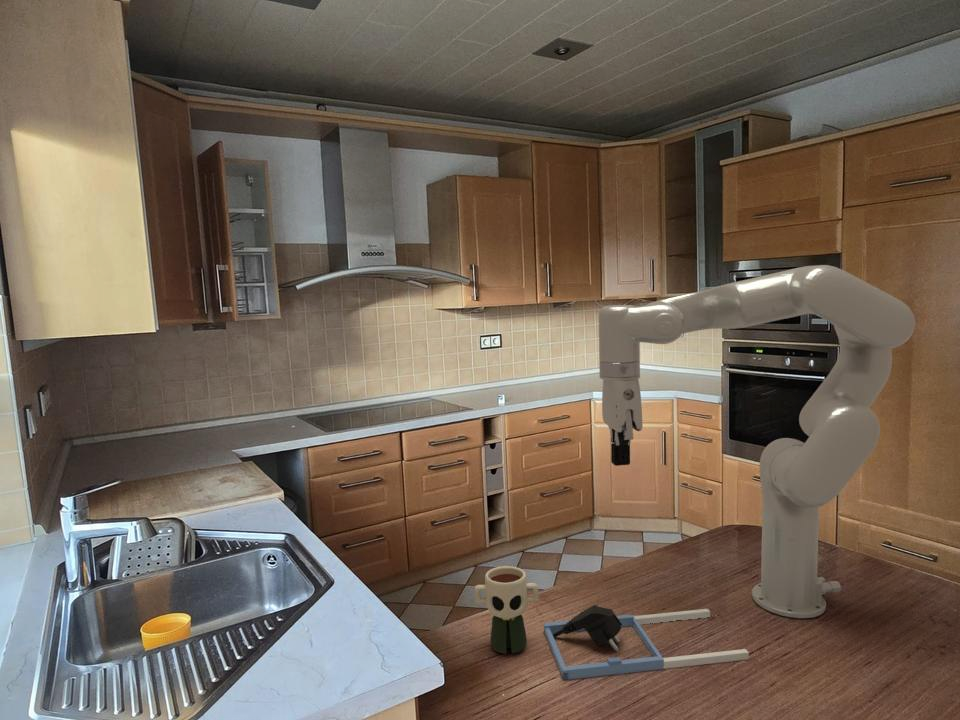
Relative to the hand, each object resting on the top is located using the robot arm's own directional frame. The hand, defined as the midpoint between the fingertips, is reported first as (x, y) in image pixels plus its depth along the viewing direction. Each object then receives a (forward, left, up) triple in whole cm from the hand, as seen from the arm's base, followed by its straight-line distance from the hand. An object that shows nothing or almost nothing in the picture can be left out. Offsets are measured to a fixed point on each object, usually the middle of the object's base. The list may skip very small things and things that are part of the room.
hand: (620, 463), depth 119 cm
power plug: (+12, +14, -27) cm, 33 cm away
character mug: (+25, +13, -27) cm, 39 cm away
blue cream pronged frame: (+3, +16, -27) cm, 32 cm away
